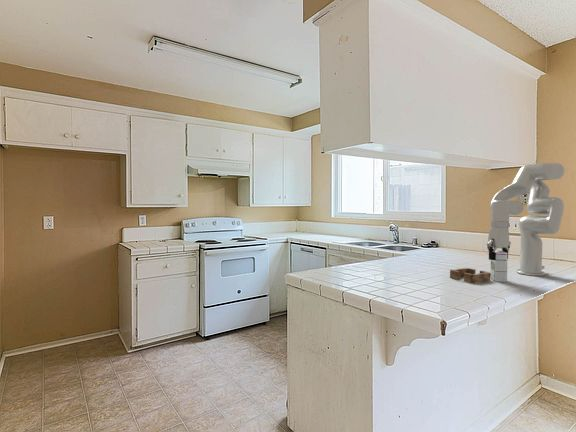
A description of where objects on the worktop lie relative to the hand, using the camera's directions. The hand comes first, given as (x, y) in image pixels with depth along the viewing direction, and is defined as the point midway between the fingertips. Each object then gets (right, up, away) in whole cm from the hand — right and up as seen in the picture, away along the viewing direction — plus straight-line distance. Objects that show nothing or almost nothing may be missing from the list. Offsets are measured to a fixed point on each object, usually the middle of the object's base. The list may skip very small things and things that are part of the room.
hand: (498, 259), depth 164 cm
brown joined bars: (-12, -11, +3) cm, 17 cm away
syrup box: (+1, -11, +1) cm, 11 cm away
